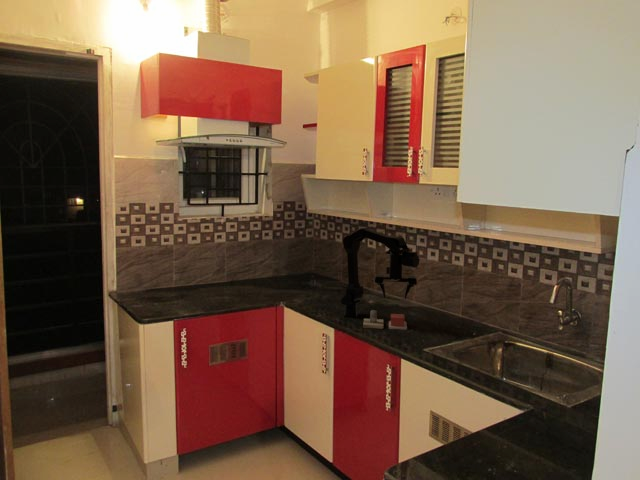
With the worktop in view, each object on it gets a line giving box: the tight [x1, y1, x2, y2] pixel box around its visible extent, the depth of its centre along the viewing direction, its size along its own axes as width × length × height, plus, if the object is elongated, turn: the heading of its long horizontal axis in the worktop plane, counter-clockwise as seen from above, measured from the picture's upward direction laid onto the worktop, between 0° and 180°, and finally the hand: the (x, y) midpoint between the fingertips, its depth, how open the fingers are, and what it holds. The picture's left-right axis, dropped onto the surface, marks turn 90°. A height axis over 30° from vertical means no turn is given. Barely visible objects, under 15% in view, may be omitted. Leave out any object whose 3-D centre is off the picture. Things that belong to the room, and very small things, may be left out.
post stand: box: [362, 309, 384, 330], centre depth 248 cm, size 10×9×6 cm
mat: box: [388, 320, 408, 331], centre depth 247 cm, size 10×8×1 cm
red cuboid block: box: [390, 313, 406, 327], centre depth 247 cm, size 6×6×4 cm
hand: (394, 298), depth 247 cm, fingers open, 9 cm apart
